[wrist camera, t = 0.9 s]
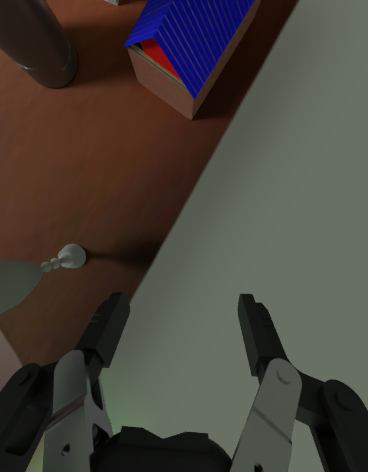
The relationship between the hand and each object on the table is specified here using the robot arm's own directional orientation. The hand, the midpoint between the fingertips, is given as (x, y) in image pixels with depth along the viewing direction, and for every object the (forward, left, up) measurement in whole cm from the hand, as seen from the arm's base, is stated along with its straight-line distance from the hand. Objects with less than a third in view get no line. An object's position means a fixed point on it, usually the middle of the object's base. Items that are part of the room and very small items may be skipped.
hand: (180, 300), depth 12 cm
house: (-9, +33, -23) cm, 41 cm away
